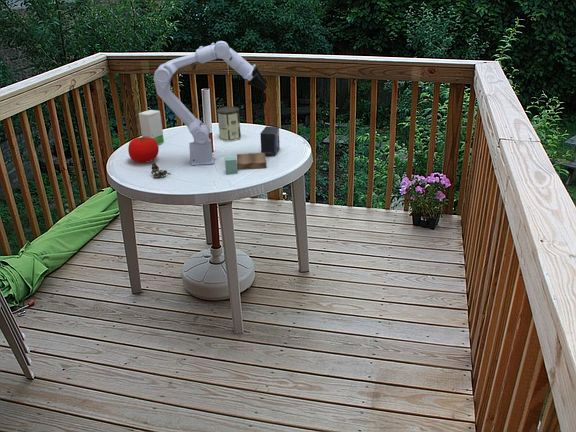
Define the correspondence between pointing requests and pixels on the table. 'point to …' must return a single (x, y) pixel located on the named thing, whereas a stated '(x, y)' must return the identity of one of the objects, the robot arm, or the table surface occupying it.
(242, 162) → the walnut slab
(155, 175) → the gnarled brown figurine
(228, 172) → the teal block
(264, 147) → the small box
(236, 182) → the table surface
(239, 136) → the coffee can
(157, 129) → the skincare box
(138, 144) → the tomato
